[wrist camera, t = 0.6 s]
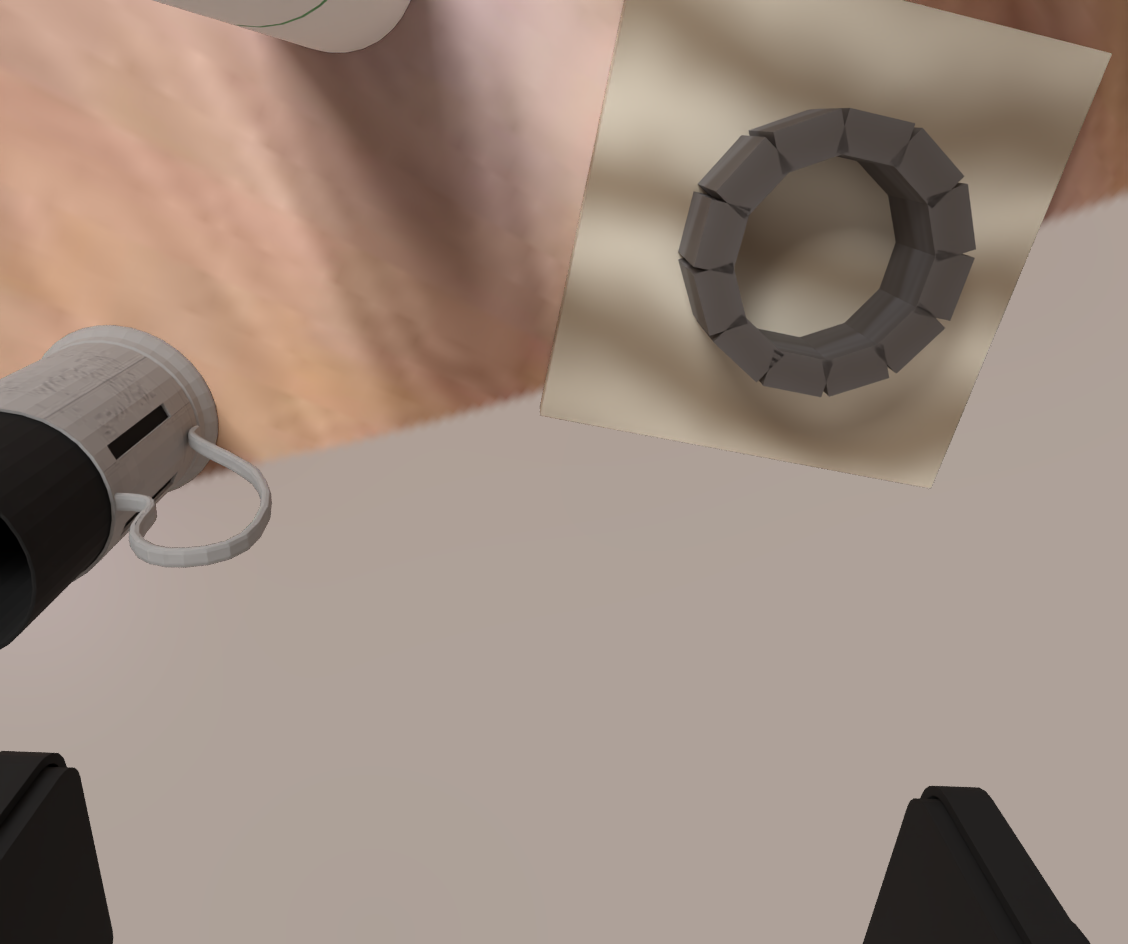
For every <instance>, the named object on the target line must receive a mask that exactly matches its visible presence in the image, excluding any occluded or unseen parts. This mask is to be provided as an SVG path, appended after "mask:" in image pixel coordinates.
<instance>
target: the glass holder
mask: <svg viewBox="0 0 1128 944" xmlns="http://www.w3.org/2000/svg"><path fill="white" fill-rule="evenodd" d="M217 435H218V417H217V412H216V407H215V403H214V400H213V398H212V395H211V392H210V390H209V388H208V386H207V384H206V383H205V381H204V379H203V377H202V376H201V374H200V373H199V372H198V371H197V369H196V368H195V367H194V366H193V364H192V363H191V362H190V361H189V360H188V359H187V358H186V357H184V356H183V355H182V354H181V353H180V352H179V351H178V350H176V349H175V348H173V347H172V346H171V345H169V344H168V343H166V342H165V341H163V340H161V339H159V338H157V337H155V336H153V335H151V334H149V333H146V332H143V331H140V330H136V329H133V328H129V327H122V326H115V325H103V326H93V327H88V328H83V329H80V330H78V331H75V332H73V333H70V334H68V335H66V336H65V337H63V338H62V339H60V340H59V341H57V342H56V343H55V344H54V345H53V346H52V347H51V348H50V349H49V350H48V351H47V352H46V353H45V354H44V356H43V357H42V359H41V360H39V361H37V362H35V363H32V364H30V365H28V366H26V367H24V368H22V369H20V370H18V371H16V372H14V373H12V374H10V375H8V376H6V377H4V378H2V379H0V649H2V648H4V647H5V646H7V645H8V644H10V643H11V642H12V641H13V640H14V639H15V638H16V637H17V636H18V635H19V634H20V633H21V632H22V631H23V630H24V629H25V628H26V627H27V626H28V625H29V624H30V623H31V622H32V621H33V620H34V619H35V618H36V617H37V616H38V615H39V614H40V613H41V612H42V611H43V610H44V609H45V608H46V607H47V606H48V605H49V604H50V603H51V602H52V601H53V600H54V599H55V598H56V597H57V596H58V595H59V594H60V593H61V592H62V591H63V590H64V589H65V588H66V587H67V586H68V585H69V584H70V583H71V582H73V581H75V580H76V579H78V578H80V577H81V576H83V575H84V574H86V573H87V572H88V571H90V570H91V569H92V568H93V567H94V566H95V565H96V564H97V563H98V562H99V561H100V560H101V559H102V558H103V557H104V556H105V555H106V554H107V553H108V552H109V551H110V550H111V549H112V548H113V546H115V545H116V544H117V543H118V542H119V541H120V540H121V539H122V538H123V537H124V536H125V535H126V534H127V533H128V531H129V542H130V547H131V548H132V550H133V551H134V553H135V554H136V555H137V557H138V558H139V559H142V560H143V561H145V562H147V563H149V564H153V565H158V566H162V567H194V566H203V565H210V564H214V563H218V562H221V561H225V560H229V559H232V558H233V557H235V556H237V555H239V554H241V553H243V552H245V551H247V550H248V549H249V548H250V547H251V546H252V545H253V544H254V543H255V542H256V541H257V540H258V539H259V538H260V537H261V535H262V533H263V531H264V529H265V528H266V525H267V524H268V522H269V520H270V515H271V504H272V501H271V493H270V490H269V487H268V484H267V481H266V479H265V478H264V477H263V475H262V473H261V472H260V470H259V469H258V468H257V467H255V466H254V465H252V464H251V463H249V462H247V461H245V460H243V459H242V458H240V457H238V456H236V455H235V454H233V453H231V452H229V451H227V450H225V449H223V448H221V447H219V446H217V445H216V440H217ZM209 460H212V461H214V462H216V463H218V464H220V465H223V466H225V467H227V468H228V469H230V470H232V471H234V472H235V473H237V474H238V475H240V476H242V477H243V478H245V479H246V480H247V481H249V482H250V483H251V484H252V485H253V486H254V487H255V489H256V490H257V492H258V494H259V496H260V499H261V504H260V508H259V510H258V512H257V514H256V516H255V518H254V520H253V521H252V522H251V523H250V524H249V525H248V526H247V527H246V528H245V529H244V530H243V531H242V532H241V533H240V534H237V535H236V536H233V537H232V538H230V539H228V540H226V541H223V542H218V543H214V544H210V545H206V546H198V547H188V548H169V547H163V546H158V545H154V544H152V543H151V542H149V541H147V540H145V539H144V538H143V537H144V536H145V534H146V532H147V531H148V530H149V529H150V527H151V526H152V525H153V524H154V522H155V520H156V518H157V511H156V503H157V502H158V501H159V500H160V499H161V498H162V497H163V496H164V495H165V494H166V493H167V492H170V491H172V490H175V489H178V488H180V487H181V486H183V485H185V484H186V483H188V482H190V481H191V480H193V479H194V478H195V477H196V476H197V475H198V474H199V473H200V472H201V471H202V470H203V469H204V467H205V466H206V464H207V463H208V462H209Z"/></svg>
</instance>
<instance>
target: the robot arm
mask: <svg viewBox="0 0 1128 944" xmlns="http://www.w3.org/2000/svg"><path fill="white" fill-rule="evenodd" d="M0 944H113V931H112V927H111V921H110V917H109V912H108V907H107V903H106V898H105V893H104V888H103V883H102V879H101V874H100V869H99V864H98V859H97V855H96V850H95V845H94V840H93V836H92V831H91V826H90V821H89V817H88V812H87V807H86V802H85V798H84V793H83V788H82V783H81V778H80V775H79V772H78V771H77V770H76V769H75V768H68V767H67V766H66V764H65V761H64V758H63V757H62V756H61V755H60V754H59V753H42V752H15V751H1V752H0ZM863 944H1090V942H1089V941H1088V940H1087V938H1086V937H1085V936H1084V934H1083V933H1082V932H1081V931H1080V929H1079V928H1078V927H1077V926H1076V924H1074V923H1073V922H1072V921H1071V920H1070V918H1069V917H1068V915H1067V914H1066V912H1065V910H1064V909H1063V907H1062V906H1061V904H1060V903H1059V901H1058V900H1057V898H1056V897H1055V895H1054V894H1053V892H1052V891H1051V889H1050V887H1049V886H1048V884H1047V883H1046V881H1045V880H1044V878H1043V877H1042V875H1041V874H1040V872H1039V870H1038V869H1037V867H1036V866H1035V865H1034V863H1033V861H1032V860H1031V858H1030V857H1029V855H1028V854H1027V852H1026V851H1025V849H1024V847H1023V846H1022V844H1021V843H1020V841H1019V840H1018V838H1017V837H1016V835H1015V834H1014V832H1013V831H1012V829H1011V827H1010V826H1009V824H1008V823H1007V821H1006V820H1005V818H1004V817H1003V815H1002V814H1001V812H1000V811H999V809H998V808H997V806H996V805H995V803H994V801H993V800H992V799H991V797H990V796H989V795H988V794H987V792H986V791H984V790H982V789H981V788H975V787H974V788H973V787H948V786H929V787H928V788H926V789H925V790H924V792H923V794H922V796H921V798H920V799H913V800H911V801H910V803H909V805H908V806H907V810H906V813H905V816H904V819H903V822H902V825H901V828H900V831H899V835H898V837H897V841H896V844H895V847H894V849H893V853H892V856H891V859H890V862H889V865H888V868H887V871H886V874H885V878H884V880H883V883H882V886H881V890H880V892H879V896H878V899H877V902H876V905H875V908H874V911H873V914H872V917H871V920H870V923H869V926H868V929H867V932H866V936H865V939H864V942H863Z"/></svg>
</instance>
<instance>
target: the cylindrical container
mask: <svg viewBox="0 0 1128 944" xmlns="http://www.w3.org/2000/svg"><path fill="white" fill-rule="evenodd" d="M153 1H157V2H160V3H163V4H166V5H170V6H173V7H176V8H180V9H183V10H186V11H189V12H193V13H196V14H199V15H202V16H206V17H209V18H213V19H216V20H220V21H223V22H226V23H229V24H233V25H236V26H239V27H242V28H246V29H249V30H252V31H255V32H259V33H262V34H265V35H268V36H272V37H275V38H278V39H281V40H285V41H288V42H291V43H294V44H298V45H301V46H304V47H307V48H311V49H315V50H319V51H324V52H328V53H347V52H351V51H356V50H360V49H364V48H366V47H368V46H370V45H372V44H374V43H376V42H378V41H379V40H381V39H382V38H383V37H384V36H385V35H387V34H388V33H389V32H390V31H391V30H392V29H393V28H394V27H395V26H396V24H397V23H398V22H399V21H400V19H401V18H402V16H403V15H404V13H405V11H406V9H407V7H408V5H409V3H410V0H153Z"/></svg>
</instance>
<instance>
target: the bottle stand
mask: <svg viewBox="0 0 1128 944" xmlns="http://www.w3.org/2000/svg"><path fill="white" fill-rule="evenodd" d="M1111 55H1112V53H1108V52H1105V51H1101V50H1097V49H1093V48H1089V47H1085V46H1081V45H1077V44H1073V43H1069V42H1065V41H1061V40H1057V39H1053V38H1050V37H1046V36H1042V35H1038V34H1034V33H1030V32H1026V31H1022V30H1018V29H1014V28H1010V27H1006V26H1002V25H998V24H995V23H991V22H987V21H983V20H979V19H975V18H971V17H967V16H963V15H959V14H955V13H951V12H947V11H943V10H940V9H936V8H932V7H928V6H924V5H920V4H916V3H912V2H908V1H904V0H624V4H623V9H622V14H621V18H620V23H619V28H618V33H617V38H616V42H615V47H614V52H613V57H612V62H611V66H610V71H609V76H608V81H607V86H606V91H605V95H604V100H603V105H602V110H601V115H600V119H599V124H598V129H597V134H596V139H595V144H594V148H593V153H592V158H591V163H590V168H589V172H588V177H587V182H586V187H585V192H584V196H583V201H582V206H581V211H580V216H579V221H578V225H577V230H576V235H575V240H574V245H573V249H572V254H571V259H570V264H569V269H568V274H567V278H566V283H565V288H564V293H563V298H562V302H561V307H560V312H559V317H558V322H557V327H556V331H555V336H554V341H553V346H552V351H551V355H550V360H549V365H548V370H547V375H546V379H545V384H544V389H543V394H542V399H541V404H540V415H541V416H545V417H550V418H556V419H561V420H566V421H572V422H577V423H583V424H588V425H593V426H598V427H604V428H609V429H614V430H620V431H625V432H630V433H636V434H641V435H646V436H652V437H657V438H662V439H668V440H673V441H679V442H684V443H689V444H694V445H700V446H705V447H710V448H716V449H721V450H726V451H732V452H737V453H743V454H748V455H753V456H758V457H764V458H769V459H774V460H780V461H785V462H790V463H795V464H801V465H806V466H811V467H817V468H822V469H827V470H833V471H838V472H844V473H849V474H855V475H859V476H865V477H870V478H875V479H881V480H886V481H892V482H897V483H902V484H908V485H913V486H919V487H924V488H929V489H931V488H932V485H933V483H934V481H935V478H936V476H937V473H938V471H939V469H940V466H941V464H942V461H943V459H944V457H945V454H946V452H947V449H948V447H949V444H950V442H951V440H952V437H953V435H954V432H955V430H956V428H957V425H958V423H959V421H960V418H961V416H962V413H963V411H964V408H965V406H966V404H967V401H968V399H969V396H970V394H971V391H972V389H973V387H974V384H975V382H976V380H977V377H978V375H979V372H980V370H981V368H982V365H983V363H984V360H985V358H986V356H987V353H988V351H989V348H990V346H991V343H992V341H993V339H994V336H995V334H996V331H997V329H998V327H999V324H1000V322H1001V319H1002V317H1003V315H1004V312H1005V310H1006V307H1007V305H1008V302H1009V300H1010V298H1011V295H1012V293H1013V291H1014V288H1015V286H1016V283H1017V281H1018V279H1019V276H1020V274H1021V271H1022V269H1023V267H1024V264H1025V262H1026V259H1027V257H1028V254H1029V252H1030V250H1031V247H1032V245H1033V243H1034V240H1035V238H1036V235H1037V233H1038V230H1039V228H1040V226H1041V223H1042V221H1043V218H1044V216H1045V214H1046V211H1047V209H1048V206H1049V204H1050V202H1051V199H1052V197H1053V194H1054V192H1055V190H1056V187H1057V185H1058V182H1059V180H1060V178H1061V175H1062V173H1063V170H1064V168H1065V166H1066V163H1067V161H1068V158H1069V156H1070V154H1071V151H1072V149H1073V146H1074V144H1075V141H1076V139H1077V137H1078V134H1079V132H1080V129H1081V127H1082V125H1083V122H1084V120H1085V117H1086V115H1087V113H1088V110H1089V108H1090V105H1091V103H1092V101H1093V98H1094V96H1095V93H1096V91H1097V89H1098V86H1099V84H1100V81H1101V79H1102V77H1103V74H1104V72H1105V69H1106V67H1107V64H1108V62H1109V60H1110V57H1111Z"/></svg>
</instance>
